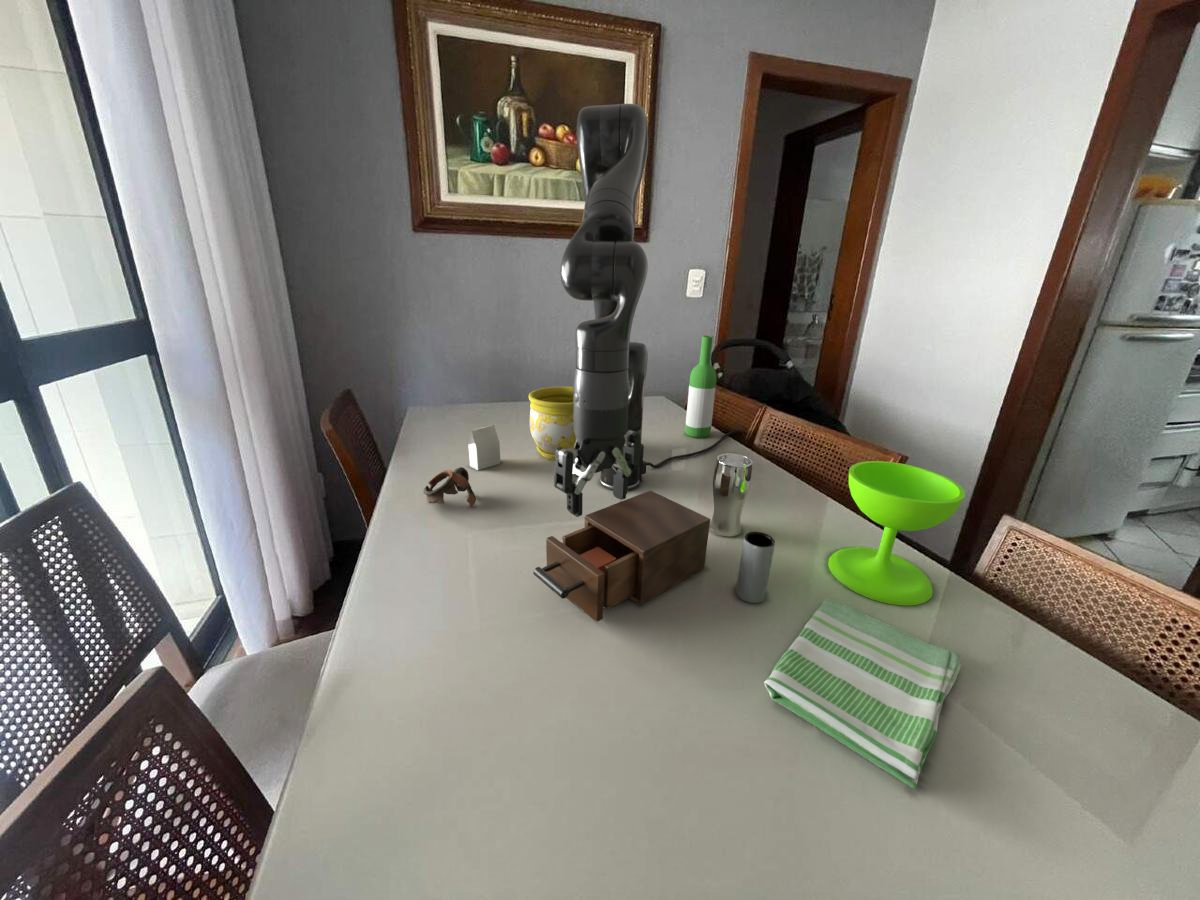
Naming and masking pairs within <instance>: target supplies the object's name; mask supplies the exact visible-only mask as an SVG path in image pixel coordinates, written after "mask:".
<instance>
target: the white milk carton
mask: <svg viewBox="0 0 1200 900" xmlns="http://www.w3.org/2000/svg"><path fill="white" fill-rule="evenodd" d="M467 443H468V444H467V447H468V459H469V467H470V468H473V469H475V470H477V471H481V470H484V469H487V468H491V467H493V466H497V465H500V464H501V462H502V461H501V445H500V444H501V443H500V439H499V436H498V432H497V430H496V426H495V424H490V425H485V426H483V427H478V428H475V429H471V430H470V434H469V439H468V442H467Z"/></svg>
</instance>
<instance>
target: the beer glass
mask: <svg viewBox="0 0 1200 900" xmlns="http://www.w3.org/2000/svg"><path fill="white" fill-rule="evenodd" d="M753 463H754V462H753V460H752V458H750V457H748V456H745V455H743V454H739V453H729V452H728V453H722V454H719V455H717V456H716V462H715V466H714V471H713V476H712V496H713V513H712V517H711V519H710V526H709V530H711V532H712V533H714V534H716V535H718V536H721V537H726V538H727V537H728V538H729V537H737V536H738V535H740V534H741V532H742V523H741V521H742V514H743V509H744V507H745V504H746V502H747V498H748V496H749V492H750V488H751V483H752V474H753Z"/></svg>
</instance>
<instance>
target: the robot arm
mask: <svg viewBox="0 0 1200 900" xmlns="http://www.w3.org/2000/svg"><path fill="white" fill-rule="evenodd" d="M648 125H649V124H648V118H647V114H646V111H645V109H644V108H643V107H642V106H641V105H639V104H635V103H615V104H614V103H613V104H602V105H600V104H598V105H588V106H584V107H582V108H581V109H580V110H579V112H578V113H577V118H576V145H577V146H576V147H577V153H578V162H579V168H580V169H579V170H580V176H581V183H582V190H583V197H584V208H583V215H582V221H581V224H580V225H579V227H578V228H577V230H576V232H575V233H574V234H573V236H571V239H570V240H569V242H568V244H567V246H566V247H565V250H564V252H563V255H562V257H561V262H560V281H561V285H562V287H563V289H564V290H565V292H566V294H567V295H569V296H570V297H571V298H572V299H574V300H578V301H589V302H590V301H593V307H594V319H588V320H585V321H582V322H580V323H579V324H578V326H577V327H576V330H575V368H574V369H575V371H574V377H573V387H574V394H573V430H574V433H575V436H576V442H575V445H574V448H569V449H564V448H561V447H558V448H557V449H556V452H555V460H554V477H553V478H554V479H553V480H554V481H553V486H554V488H556V489H557V490H558V491H560V492H563V493H564V494H565V495H566V510H567V512H569V513H570V514H571V515H573V516H574V517H576V518H579V517H581V516H582V515H583V497H584V496H583V490H584V488H585V486H586V484H587V482H590V481H591V480H592V479H593V477H594V475H595V474H597V473H600V475H599V476H600V477H599V483H600V485H601V486H603V487H604V488H606V489H609V490H612V495H613V497H614V498H616V499H618V500H620V501H624V500H626V499H627V495H628V492H629V491H630V490H633V489H635V488H637V487H639V485H640V483H642V482H643V475H646V474H647V466H649V467H650V468H653V469H656V468H657V469H658V468H660V467H662V466H663V465H665V464H667V463H669V462H670V461H674V460H678V459H684V458H689V457H693V456H697V455H700V454H703V453H706V452H709V451H711V450H712V449H714V448H716V447H717V446H718V445H720V444H721V443H722V442H723V440H724V439H725V438H726V437H729V436H730V435H733V434H735V433H739V434H740V435H743V434H744V432H743V431H742V430H741V429H733V430H731V431H728V432H727V433H724V434H723V435H722V436H720V438H719V440H717V441H716V442H715V443H713V444H712V445H710V446H708V447H706V448H704V449H701V450H697V451H694V452H690V453H686V454H679V455H675V456H670V457H668V458H665V459H663V460H662V461H661V462H659V463H657V464H654V463H652V462H650V461H645V460H644V453H645V451H644V450H645V446H644V444H643V443H642V435H643V434H642V433H643V418H644V403H645V402H644V401H645V387H646V378H647V371H648V370H647V369H648V360H649V359H648V357H649V356H648V355H649V354H648V349H647V346H646V344H645V343H642V342H635V341H633V342H632V341H631V333H632V326H633V322H634V317H635V313H636V310H637V306H638V304H639V302H640V301H639V300H640V297H641V295H642V293H643V289H644V286H645V283H646V280H647V277H648V268H649V265H648V259H647V255H646V252H645V250H644V249H643V247H642V246H641V245H640V244H639V243H638V242H636V241H635V240H634V238H635V225H636V224H635V223H636V207H637V199H638V195H639V190H640V187H641V184H642V180H643V177H644V173H645V169H646V164H647V158H648V153H649V152H648V151H649V127H648ZM576 457H577V458H576ZM575 458H576V459H575ZM582 467H583V468H584V469H586V470H584V471H582V470H581V468H582Z"/></svg>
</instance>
